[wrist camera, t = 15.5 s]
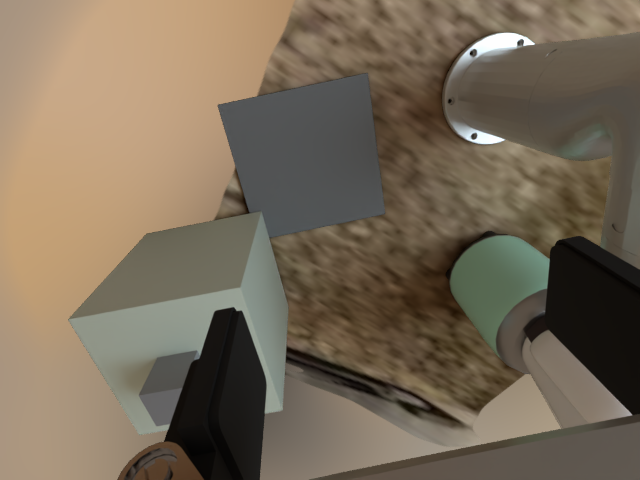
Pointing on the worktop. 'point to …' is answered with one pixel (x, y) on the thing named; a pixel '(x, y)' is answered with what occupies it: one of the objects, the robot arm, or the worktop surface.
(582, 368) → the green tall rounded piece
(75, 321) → the cover
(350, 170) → the mat
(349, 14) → the worktop surface
